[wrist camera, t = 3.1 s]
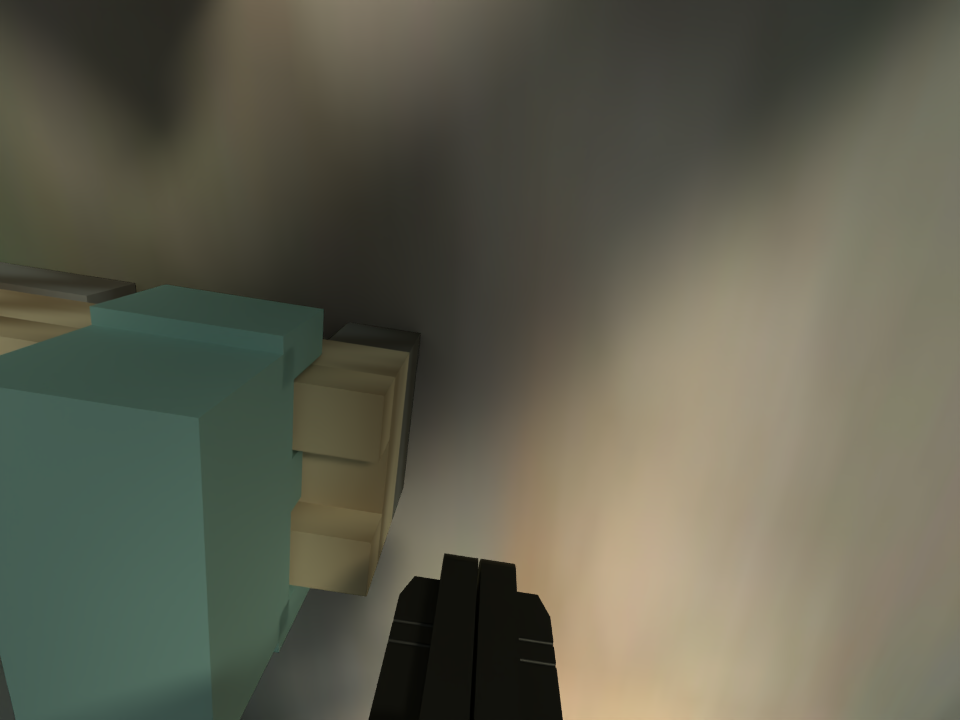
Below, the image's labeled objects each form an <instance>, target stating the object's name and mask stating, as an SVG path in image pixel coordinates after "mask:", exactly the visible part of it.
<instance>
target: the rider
mask: <svg viewBox="0 0 960 720" xmlns="http://www.w3.org/2000/svg"><path fill="white" fill-rule="evenodd" d="M90 315H91V323H92V325H90V326H87V327H84V328H81V329H78V330H75V331H72V332H69V333H66V334H63V335H60V336H57V337H54V338H51V339H48V340H45V341H42V342H39V343H36V344H33V345H30V346H26V347H23V348H20V349H17V350H14V351H11V352H8V353H5V354H2V355H0V656H1V661H2V665H3V669H4V673H5V677H6V682H7V686H8V690H9V694H10V698H11V702H12V707H13V711H14V715H15V719H16V720H240V718H241V716H242V714H243V712H244V710H245V708H246V706H247V704H248V702H249V700H250V698H251V696H252V694H253V692H254V690H255V688H256V686H257V684H258V682H259V680H260V678H261V676H262V674H263V672H264V670H265V668H266V666H267V664H268V662H269V660H270V658H271V656H272V654H273V652H277V653H279V651H280V649H281V647H282V645H283V643H284V641H285V639H286V636H287V634H288V632H289V630H290V628H291V626H292V624H293V622H294V620H295V618H296V616H297V614H298V612H299V610H300V608H301V606H302V604H303V601H304V599H305V597H306V595H307V593H308V591H309V589H310V588H307V587H301V586H294V585H289V569H290V527H291V511H292V510H293V508H294V507H295V505H296V504H297V502H298V501H299V499H300V498H301V486H302V455H303V451H297V450H292V441H293V399H294V379H295V378H296V377H297V376H298V375H299V374H301V373H302V372H303V371H304V370H305V369H306V368H307V367H308V366H309V365H310V364H311V363H313V362H314V361H315V360H316V359H317V358H318V357H319V356H320V355H321V354H322V341H323V318H324V309H320V308H313V307H307V306H300V305H294V304H288V303H281V302H275V301H268V300H262V299H255V298H249V297H243V296H236V295H230V294H223V293H217V292H210V291H204V290H198V289H191V288H185V287H178V286H172V285H162V286H159V287H155V288H152V289H148V290H145V291H141V292H137V293H134V294H130V295H127V296H123V297H120V298H116V299H113V300H109V301H106V302H102V303H99V304H95V305H92V306H90Z"/></svg>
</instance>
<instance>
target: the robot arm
mask: <svg viewBox="0 0 960 720" xmlns="http://www.w3.org/2000/svg"><path fill="white" fill-rule="evenodd" d="M555 665H556V660H555V652H554V647H553V635H552V627H551V619H550V616H549V614H548V612H547V610H546V609H545V607H544V605H543V603H542V602H541V600H540V598H539V596H538V595H535V594H529V593H522V592H517V584H516V567H515V564H511V563H505V562H499V561H492V560H486V559H480V562H479V567H478V558H472V557H465V556H459V555H452V554H446V553H444V558H443V564H442V570H441V576H440V580H437V579H430V578H424V577H417V576H414V578H413V579H412V580H411V581H410V582H409V584H408V585H407V586H406V587H405V588H404V590H403V591H402V592H401V593H400V595H399V599H398V603H397V607H396V611H395V615H394V620H393V623H392V627H391V631H390V635H389V640H388V643H387V647H386V651H385V655H384V659H383V663H382V668H381V672H380V676H379V680H378V684H377V688H376V692H375V696H374V700H373V704H372V708H371V712H370V716H369V720H563V718H562V710H561V701H560V693H559V685H558V677H557V668H556V667H555Z"/></svg>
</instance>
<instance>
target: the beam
mask: <svg viewBox="0 0 960 720" xmlns="http://www.w3.org/2000/svg"><path fill="white" fill-rule="evenodd" d="M134 293H136V287H135V283H130V282H124V281H117V280H111V279H105V278H98V277H92V276H85V275H79V274H72V273H66V272H60V271H53V270H47V269H40V268H34V267H27V266H21V265H15V264H8V263H2V262H0V355H2V354H5V353H8V352H11V351H14V350H17V349H20V348H23V347H26V346H30V345H33V344H36V343H39V342H42V341H45V340H48V339H51V338H54V337H57V336H60V335H63V334H66V333H69V332H72V331H75V330H78V329H81V328H84V327H87V326H90V325H92V323H91V315H90V306H92V305H95V304H99V303H102V302H106V301H109V300H113V299H116V298H120V297H123V296H127V295H130V294H134ZM419 343H420V333H414V332H408V331H401V330H395V329H388V328H382V327H375V326H369V325H363V324H356V323H350V322H349V323H347V324H346V325H345V326H344V327H343V328H342V329H340V330H339V331H338V332H337V333H336V334H335V335H333V336H332V337H331V338H330V339H329V340H326V339H323V341H322V354H321V355H320V356H319V357H318V358H317V359H316V360H315V361H314V362H313V363H311V364H310V365H309V366H308V367H307V368H306V369H305V370H304V371H303V372H302V373H301V374H299V375H298V376H297V377H296V378H295V379H294V399H293V441H292V450H297V451H303V455H302V486H301V498H300V499H299V501H298V502H297V504H296V505H295V507H294V508H293V510H292V511H291V527H290V569H289V585H294V586H301V587H307V588H314V589H321V590H327V591H334V592H340V593H347V594H353V595H360V596H367V593H368V590H369V587H370V584H371V581H372V578H373V575H374V572H375V569H376V567H377V564H378V561H379V558H380V555H381V552H382V549H383V546H384V543H385V540H386V537H387V534H388V531H389V528H390V525H391V522H392V519H393V516H394V513H395V510H396V507H397V504H398V501H399V498H400V495H401V493H402V490H403V485H404V477H405V468H406V459H407V450H408V441H409V432H410V423H411V414H412V405H413V396H414V387H415V378H416V369H417V361H418V352H419Z"/></svg>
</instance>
